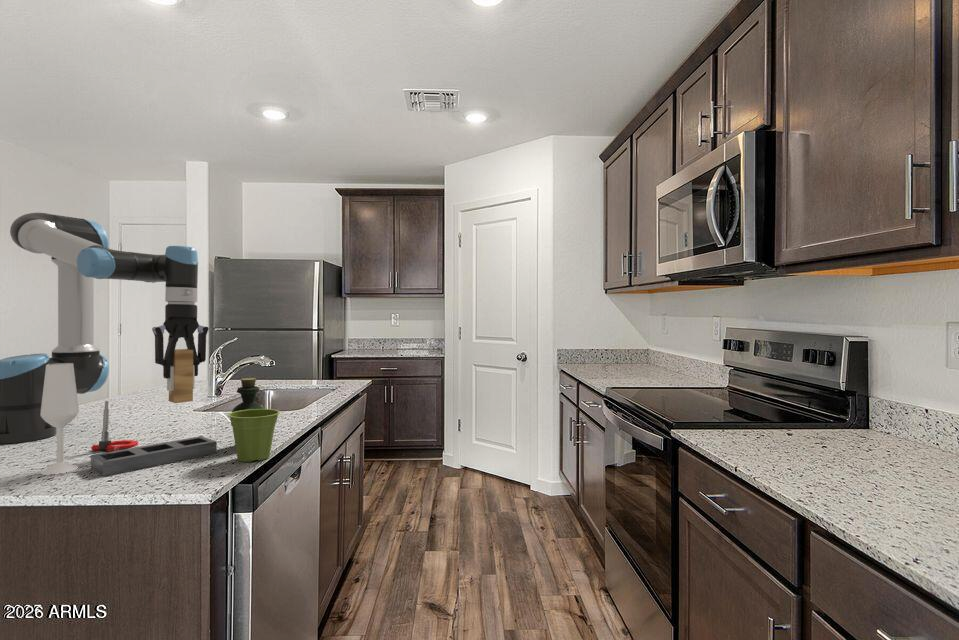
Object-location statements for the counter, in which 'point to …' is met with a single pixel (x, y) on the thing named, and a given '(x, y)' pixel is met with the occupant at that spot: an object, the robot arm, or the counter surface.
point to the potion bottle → (248, 395)
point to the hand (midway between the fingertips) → (180, 389)
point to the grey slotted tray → (152, 455)
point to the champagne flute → (59, 408)
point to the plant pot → (253, 432)
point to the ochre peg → (182, 376)
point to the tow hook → (105, 443)
